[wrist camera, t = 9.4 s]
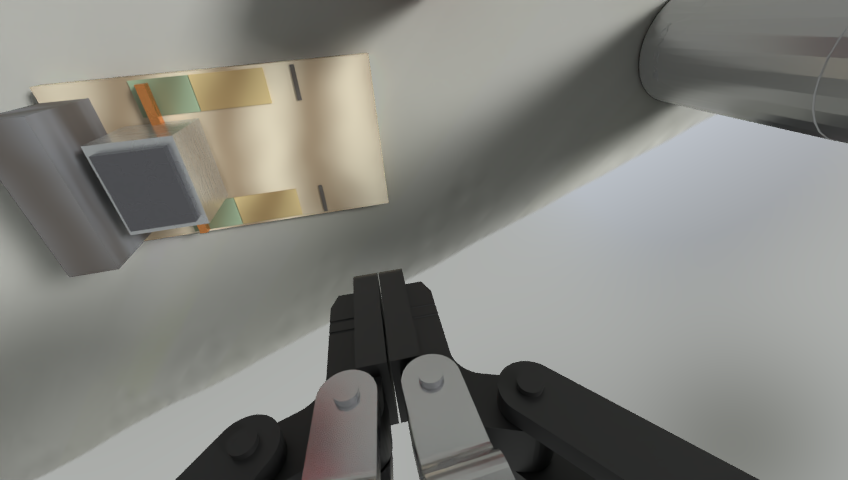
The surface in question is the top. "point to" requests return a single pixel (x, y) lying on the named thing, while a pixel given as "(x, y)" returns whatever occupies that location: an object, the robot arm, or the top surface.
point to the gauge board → (227, 137)
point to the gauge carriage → (158, 172)
